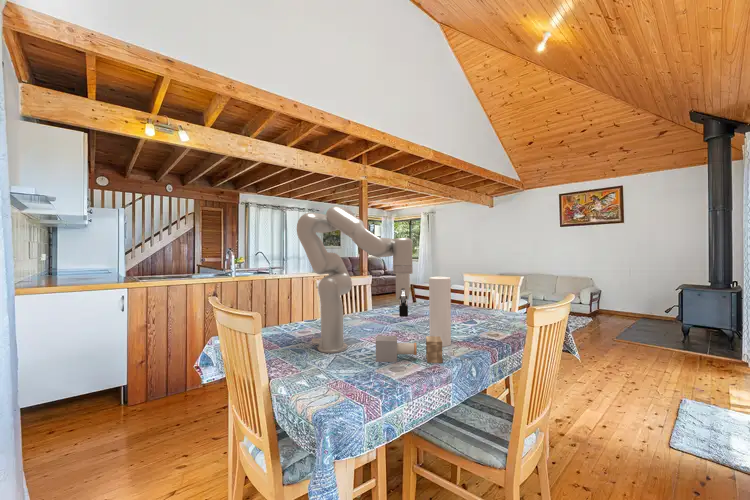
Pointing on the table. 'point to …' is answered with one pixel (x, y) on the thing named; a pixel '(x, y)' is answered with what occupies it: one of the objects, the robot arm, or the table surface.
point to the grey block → (386, 349)
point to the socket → (434, 349)
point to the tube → (407, 348)
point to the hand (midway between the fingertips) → (403, 313)
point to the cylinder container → (440, 308)
